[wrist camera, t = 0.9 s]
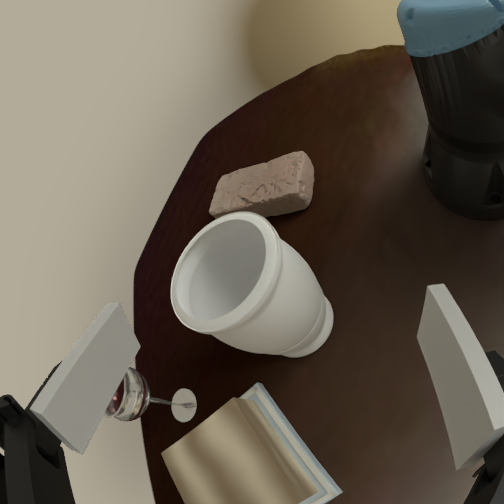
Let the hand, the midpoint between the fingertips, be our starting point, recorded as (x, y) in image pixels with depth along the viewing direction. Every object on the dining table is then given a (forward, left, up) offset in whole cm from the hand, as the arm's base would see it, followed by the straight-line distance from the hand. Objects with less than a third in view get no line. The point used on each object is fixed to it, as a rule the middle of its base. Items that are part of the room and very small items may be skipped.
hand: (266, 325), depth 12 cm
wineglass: (+21, -13, -20) cm, 32 cm away
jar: (+2, -10, -20) cm, 23 cm away
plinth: (+18, 0, -20) cm, 27 cm away
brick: (-7, -30, -21) cm, 37 cm away
